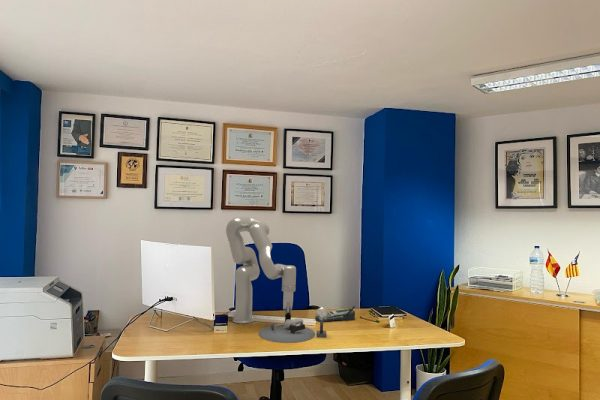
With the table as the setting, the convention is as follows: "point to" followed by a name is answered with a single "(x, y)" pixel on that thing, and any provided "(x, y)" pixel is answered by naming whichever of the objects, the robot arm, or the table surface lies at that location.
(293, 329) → the clip-on lamp
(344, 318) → the communication device
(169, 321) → the table surface
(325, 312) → the square-base wall hook
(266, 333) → the mat
